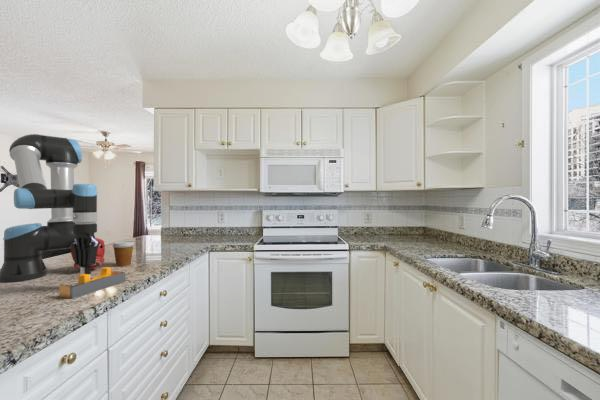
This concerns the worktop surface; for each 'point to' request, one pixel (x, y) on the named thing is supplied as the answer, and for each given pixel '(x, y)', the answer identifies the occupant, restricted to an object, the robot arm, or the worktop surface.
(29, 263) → the robot arm
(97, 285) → the keeper bracket
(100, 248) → the plant pot
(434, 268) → the worktop surface
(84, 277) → the pipe clamp
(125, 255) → the disposable coffee cup
